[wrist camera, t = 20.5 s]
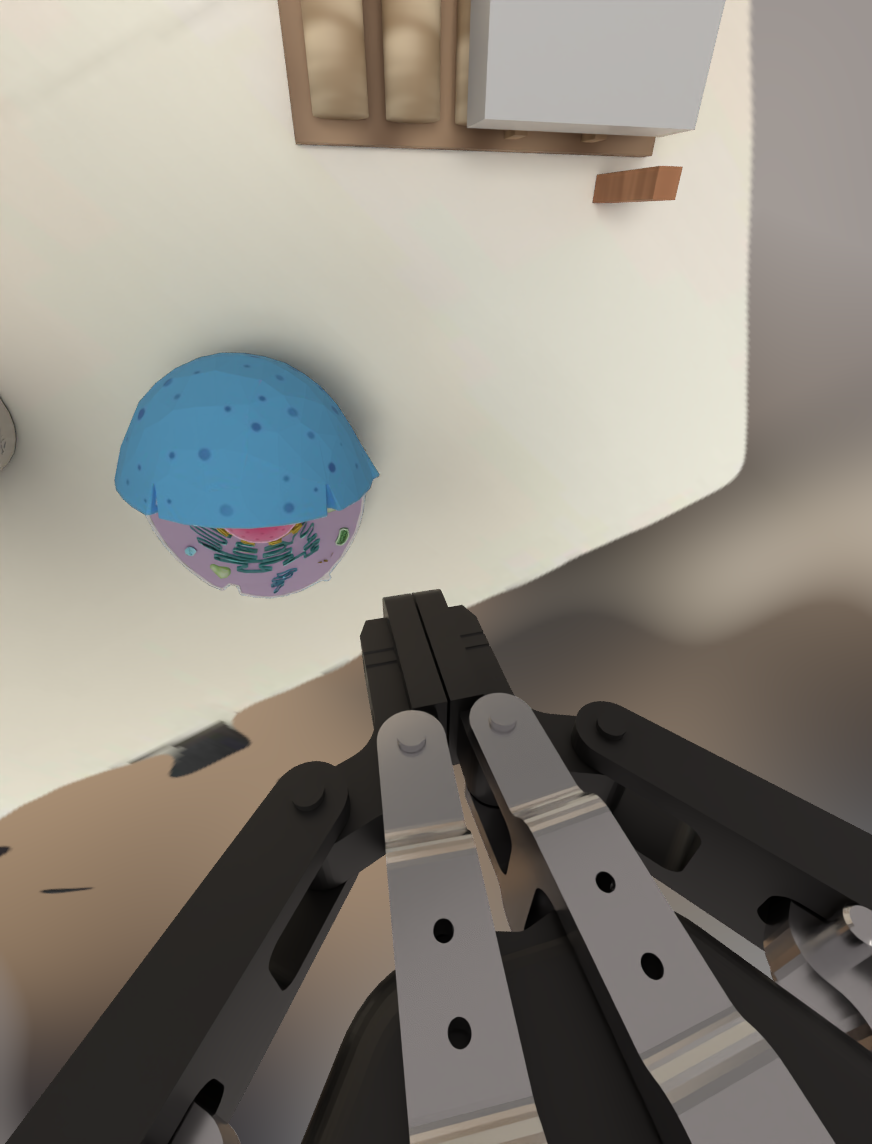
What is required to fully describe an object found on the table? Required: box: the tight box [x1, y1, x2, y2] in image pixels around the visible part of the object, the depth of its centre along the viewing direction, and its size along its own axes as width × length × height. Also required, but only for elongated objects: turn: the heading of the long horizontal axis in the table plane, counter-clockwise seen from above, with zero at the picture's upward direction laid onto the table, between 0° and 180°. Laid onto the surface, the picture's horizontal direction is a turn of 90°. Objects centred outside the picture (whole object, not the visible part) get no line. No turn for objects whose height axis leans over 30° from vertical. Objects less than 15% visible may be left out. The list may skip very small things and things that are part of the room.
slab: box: [467, 0, 725, 137], centre depth 24 cm, size 12×7×3 cm, turn 89°
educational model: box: [115, 353, 379, 598], centre depth 32 cm, size 16×19×15 cm
